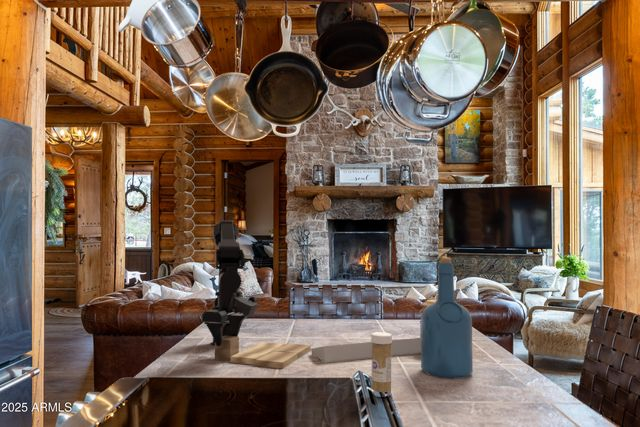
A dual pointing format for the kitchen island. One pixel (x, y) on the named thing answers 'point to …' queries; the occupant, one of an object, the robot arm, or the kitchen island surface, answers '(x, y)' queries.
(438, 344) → the wine bottle
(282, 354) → the laid row
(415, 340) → the decorative molding
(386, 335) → the sprinkles bottle
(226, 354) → the block
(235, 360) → the plank
